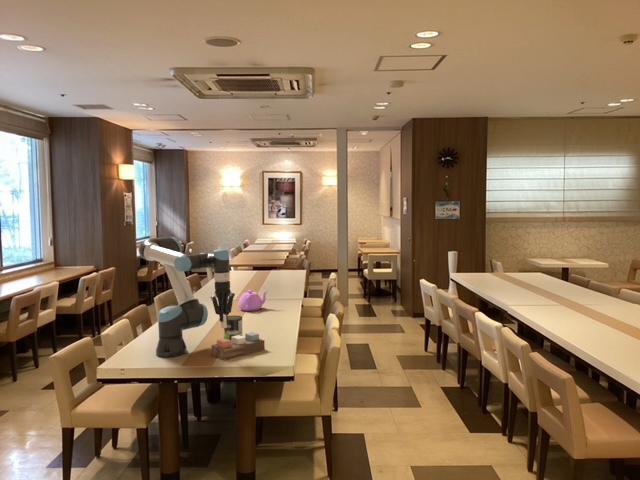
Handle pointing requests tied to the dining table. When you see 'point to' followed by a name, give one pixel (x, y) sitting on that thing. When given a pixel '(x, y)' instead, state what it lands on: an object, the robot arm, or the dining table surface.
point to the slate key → (252, 336)
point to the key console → (238, 349)
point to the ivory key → (238, 339)
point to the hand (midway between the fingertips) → (223, 327)
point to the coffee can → (233, 327)
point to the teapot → (251, 301)
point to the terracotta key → (224, 343)
